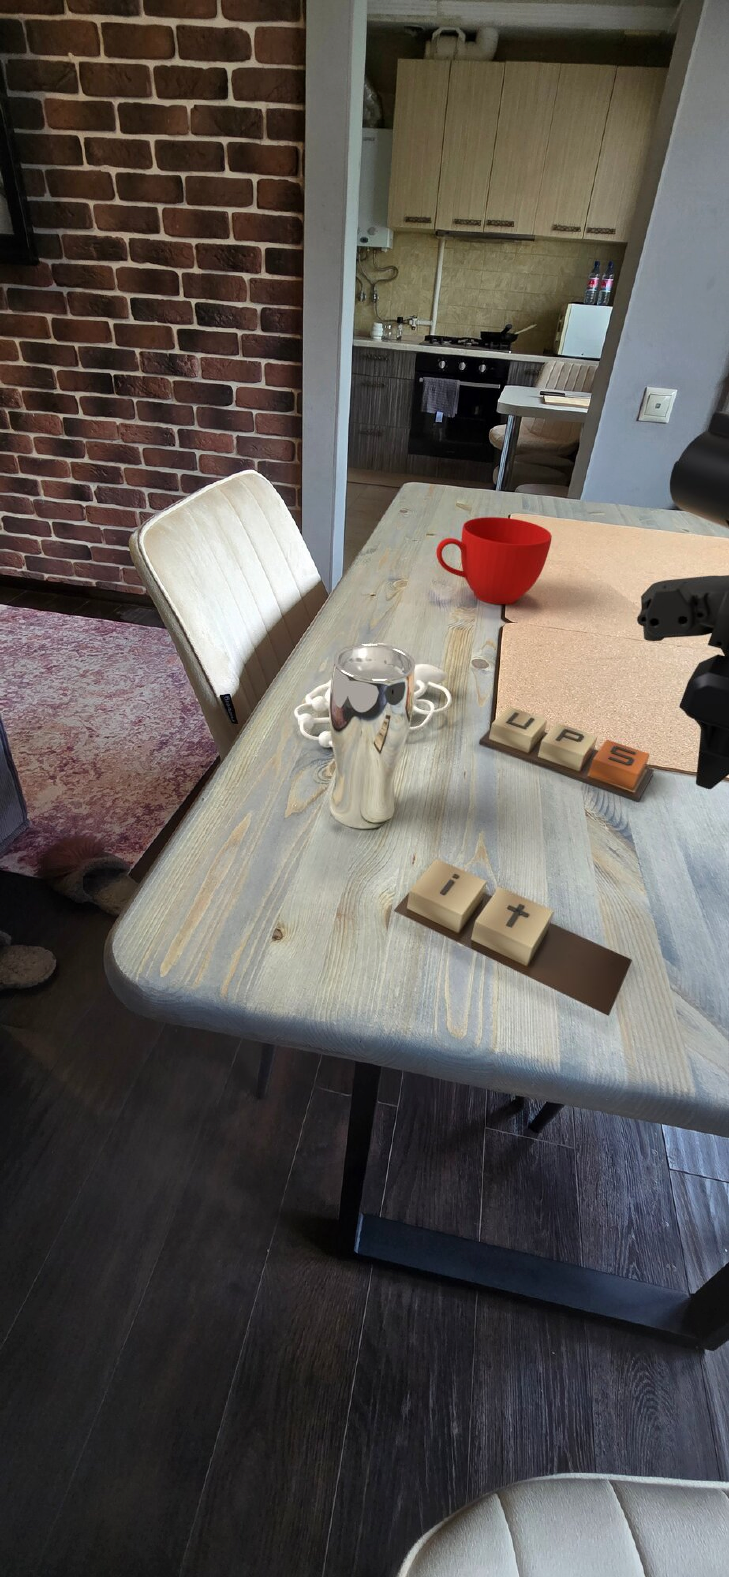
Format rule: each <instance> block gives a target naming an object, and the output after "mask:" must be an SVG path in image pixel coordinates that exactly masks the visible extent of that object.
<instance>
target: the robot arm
mask: <svg viewBox="0 0 729 1577" xmlns="http://www.w3.org/2000/svg"><path fill="white" fill-rule="evenodd" d="M669 494H670V497H671V500H672V502H673V503H674V505H675V506H676V507H678V508H679V509H680V510H682V511H683V512H684V511H685V512H687V513H689V514H692V515H694V516H696V517H699V518H701V519H704V520H706V521H708V522H711V523H713V524H715V525H718V526H720V527H722V528H725V529H728V530H729V411H715V412H713V413H712V415H711V419H710V422H709V425H708V429H707V430H705V431H703V432H702V433H700V434H698V435H697V436H695V437H694V439H693V440H691V442H690V443H689V444H688V445H687V446H686V447H685V449H684V450H683V451H682V453H681V454H680V456H679V458H678V460H676V461H675V462H674V464H673V467H672V470H671V472H670V478H669ZM640 604H641V605H640V606H641V609H640V612H639V614H638V616H637V617H636V621H637V622H636V623H637V624H638V625H639V626H641V627H642V629H643V640H644V641H648V642H661V641H663V640H664V639H669V638H670V639H671V638H685V637H686V638H689V637H700V636H702V637H703V636H706V635H710V637H709V640H708V642H707V646H709V647H713V648H717V649H720V650H721V652H722V654H720V653H719V654H716V655H714V656H711V657H709V658H707V659H705V660H702V661H700V662H699V663H698V664H697V665H696V667H695V669H694V671H693V672H692V674H691V676H690V678H689V679H688V681H687V683H686V686H685V689H684V692H683V694H682V698H681V700H680V703H679V705H678V707H679V709H681V710H682V711H683V712H684V713H685V715H686V716H687V717H688V718H690V719H693V720H694V721H695V722H696V724H697V725H698V727H699V728H700V733H699V734H700V735H699V746H698V757H697V766H696V776H695V784H696V786H698V787H699V788H703V789H706V790H712V789H713V788H715V787H716V786H717V785H718V784H720V783H721V782H722V781H723V780H724V779H725V778H727V777H728V776H729V574H726V575H725V574H724V575H703V576H695V577H694V576H693V577H684V578H683V577H682V578H673V579H666V580H660V581H656V582H653V583H652V584H650V586H649V587H648V588H647V589H646V590H645V591H644V592H643V593H642V594H641V596H640Z"/></svg>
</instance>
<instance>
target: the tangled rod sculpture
mask: <svg viewBox="0 0 729 1577" xmlns="http://www.w3.org/2000/svg"><path fill="white" fill-rule="evenodd" d="M375 644H382V645H387V644H386V643H383V642H376V643H375ZM446 679H447V674H446V672H445V671H444V670H441V669H440V668H438V667H436V666H434V665H432V664H428V663H418V664H416V663H415V674H414V701H413V711H412V715H413V714H414V713H417V714H420V715H425V716H426V717H425V719H424V721H423V722H422V723H421V724H419V725H417V726H410V728H409V732H418V731H421V730H423V729H424V728H425V727H426V726H427V725H428V723H429V722H430V721H431V719H432V718H433V716H434V715H438V714H442V713H444V712H447V711H448V709H449V708H450V707H451V705H452V700H453V698H452V695H451V693H450V691H449V690H448V689H447V687H445V686H443V685H440V684H442V683H443V682H444V681H445V680H446ZM331 681H332V678H331V679H330V680H329V681H327V683H324V684H321V685H319V686H317V687H315V688H314V689H313V690H312V691H311V692H308V693H307V694H306V695H305V699H304V700H305V703H302V704H300V705H298V706H297V707H295V709H294V712H293V713H294V717H295V718H296V719H297V724H298V727H299V731H300V733H301V735H302V736H304V737H305V738H306V739H309V740H311V741H315V742H318V744H319V745H320V746H321V747H322V748H324V749H325V748H326V749H329V748H333V747H332V740H331V733H330V730H329V731H328V730H325V731H322V732H320V734H319V735H318V736H314V735H311V734H309V733H307V732H306V731H305V730H310V729H312V728H313V727H314V725H315V724H330V722H329V716H327V717H326V716H325V717H313V715H312V714H310V713H308V712H306V713H305V712H304V713H301V714H299V712H300V711H302V710H303V709H305V708H307V707H312V708H313V710H314V711H316V712H318V713H321V712H322V713H323V712H324V711H326V710H327V711H328V712H329V701H330V689H331ZM430 687H431V688H434V689H437V690H440V691H442V692H443V693H444V694H445V695H446V697H447V701H446V704H445V705H444V706H443V707H440V708H437V709H436V707H435V704H434V703H433V702H432V701H430V700H428V699H419V698H420V697H422V696H424V694H426V691H427V689H428V688H430ZM322 692H325V694H324V696H323V695H320V694H321V693H322ZM421 704H423V705H427V706H428V707H430V710H425V709H421V708H419V707H417V706H418V705H421Z"/></svg>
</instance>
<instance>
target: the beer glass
mask: <svg viewBox="0 0 729 1577" xmlns="http://www.w3.org/2000/svg"><path fill="white" fill-rule="evenodd" d="M415 664H416V661H415V659H414V658H413V657H412V655H410V654H409V653H407V652H406V651H404V650H402V649H400V648H398V647H395V646H391V645H388V644H386V645H382V644H376V643H369V642H368V643H357V644H352V645H348V646H345V647H343V648H341V649H339V650H338V651H337V652H336V653H335V654H334V657H333V667H332V673H331V674H332V675H331V679H332V681H331V689H330V701H329V711H328V713H329V714H328V717H329V722H330V723H329V731H330V733H331V740H332V747H331V748H332V753H333V758H334V759H333V760H334V766H335V780H334V786H333V789H332V793H331V796H330V799H329V810H330V813H331V815H332V816H333V818H334V819H335V820H336V821H338V822H339V823H341V824H342V825H344V826H347V827H350V828H353V829H359V830H371V829H376V828H380V827H382V826H384V825H385V824H386V823H387V822H388V821H389V820H390V819H391V818H392V817H393V816H394V815H395V814H396V809H397V805H396V796H395V795H396V793H395V780H396V774H397V771H398V767H399V764H400V761H401V757H402V755H403V752H404V748H405V745H406V743H407V739H408V737H409V736H408V735H409V732H410V731H409V728H410V727H411V724H412V717H413V714H412V711H413V701H414V674H415Z"/></svg>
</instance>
